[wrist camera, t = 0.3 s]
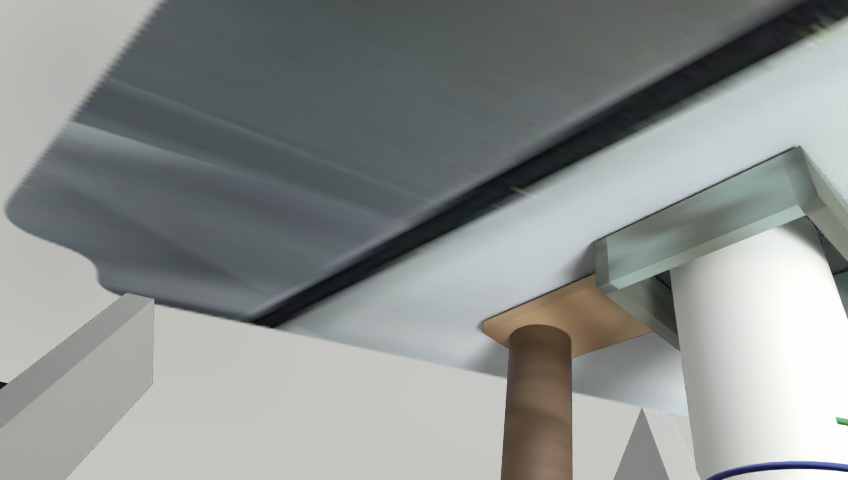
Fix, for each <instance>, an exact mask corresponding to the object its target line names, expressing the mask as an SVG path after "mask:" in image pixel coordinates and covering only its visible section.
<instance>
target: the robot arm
mask: <svg viewBox="0 0 848 480" xmlns="http://www.w3.org/2000/svg"><path fill="white" fill-rule="evenodd" d="M153 330H154V299H152V298H148V297H143V296H139V295H134V294H129V293H126V294H124V295H123V296H122V297H120V298H119V299H118V300H117V301H115V302H114V303H113V304H111V305H110V306H109V307H108V308H106V309H105V310H104V311H102V312H101V313H100V314H98V315H97V316H96V317H94V318H93V319H92V320H90V321H89V322H88V323H87V324H85V325H84V326H83V327H81V328H80V329H79V330H77V331H76V332H75V333H74V334H72V335H71V336H70V337H68V338H67V339H66V340H64V341H63V342H62V343H60V344H59V345H58V346H57V347H55V348H54V349H53V350H51V351H50V352H49V353H47V354H46V355H45V356H43V357H42V358H41V359H40V360H38V361H37V362H36V363H34V364H33V365H32V366H30V367H29V368H28V369H27V370H25V371H24V372H23V373H21V374H20V375H19V376H17V377H16V378H15V379H14V380H12V381H11V382H10V383H4V382H0V480H65V479H66V478H67V477H68V476H69V475H70V474H71V472H72V471H73V470H74V469H75V468H76V467H77V466H78V465H79V464H80V463H81V462H82V461H83V459H84V458H85V457H86V456H87V455H88V454H89V453H90V452H91V451H92V450H93V449H94V448H95V446H96V445H97V444H98V443H99V442H100V441H101V440H102V439H103V438H104V437H105V435H106V434H107V433H108V432H109V431H110V430H111V429H112V428H113V426H115V425H116V424H117V422H118V421H119V420H120V419H121V418H122V417H123V416H124V415H125V414H126V413H127V412H128V410H129V409H130V408H131V407H132V406H133V405H134V404H135V403H136V402H137V401H138V400H139V398H140V397H141V396H142V395H143V394H144V393H145V392H146V391H147V390H148V389H149V388H150V386H151V385H152V384H153V337H154V336H153V335H154V334H153V333H154V331H153ZM614 480H701V479H700V477H699V475H698V472H697V470H696V468H695V466H694V463H693V461H692V459H691V456H690V454H689V452H688V450H687V447H686V445H685V443H684V441H683V438H682V436H681V434H680V432H679V429H678V427H677V425H676V423H675V420H674V418H673V416H672V414H671V413H667V412H662V411H658V410H653V409H649V408H644V407H642V409H641V411H640V414H639V416H638V419H637V421H636V424H635V427H634V429H633V432H632V434H631V437H630V440H629V442H628V444H627V447H626V449H625V452H624V455H623V457H622V460H621V462H620V465H619V467H618V470H617V472H616V475H615V477H614Z"/></svg>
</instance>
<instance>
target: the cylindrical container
mask: <svg viewBox="0 0 848 480" xmlns="http://www.w3.org/2000/svg"><path fill="white" fill-rule="evenodd" d="M669 270H670V278H671V285H672V293H673V300H674V308H675V315H676V323H677V330H678V337H679V345H680V352H681V360H682V367H683V374H684V382H685V389H686V396H687V404H688V411H689V418H690V425H691V432H692V440H693V447H694V455H695V462H696V469H697V472H698V475H699V477H700V479H701V480H848V319H847V316H846V313H845V310H844V307H843V305H842V302H841V299H840V296H839V293H838V290H837V287H836V284H835V282H834V279H833V276H832V273H831V270H830V267H829V264H828V261H827V258H826V256H825V253H824V250H823V247H822V244H821V241H820V238H819V235H818V233H817V230H816V228H815V226H814V225H813V224H812V222H811V221H810V220H808V219H807V218H806V217H804V216H802V217H800V218H797V219H795V220H792V221H790V222H787V223H785V224H782V225H780V226H777V227H775V228H772V229H770V230H767V231H765V232H762V233H760V234H757V235H754V236H752V237H749V238H747V239H744V240H742V241H739V242H737V243H734V244H732V245H729V246H727V247H724V248H722V249H719V250H717V251H714V252H712V253H709V254H707V255H704V256H702V257H699V258H697V259H694V260H692V261H689V262H687V263H684V264H682V265H679V266H677V267H674V268H672V269H669Z"/></svg>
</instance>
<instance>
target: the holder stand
mask: <svg viewBox="0 0 848 480" xmlns="http://www.w3.org/2000/svg"><path fill="white" fill-rule="evenodd" d="M805 215H807V216H808V217H809V218H810V220H811V221H812V222H813V223H814V224H815V225H816V226H817V228H818V229H819V230H820V231H821V232H822V233H823V234H824V235H825V237H826V238H827V239H828V240H829V241H830V242H831V243H832V245H833V246H834V247H835V248H836V249H837V250H838V251H839V252H840V254H841V255H842V256H843V257H844V258H845V259H846V260H847V262H848V204H847V203H846V202H845V200H844V199H843V198H842V197H841V196H840V194H839V193H838V192H837V191H836V189H835V188H834V187H833V186H832V184H831V183H830V182H829V181H828V179H827V178H826V177H825V176H824V175H823V173H822V172H821V171H820V170H819V168H818V167H817V166H816V165H815V163H814V162H813V161H812V160H811V158H810V157H809V156H808V155H807V154H806V152H805V151H804V150H803V149H802V147H801V146H798V147H796V148H794V149H792V150H790V151H788V152H786V153H784V154H781V155H779V156H777V157H775V158H773V159H771V160H769V161H767V162H764V163H762V164H760V165H758V166H756V167H754V168H752V169H750V170H747V171H745V172H743V173H741V174H739V175H737V176H735V177H733V178H730V179H728V180H726V181H724V182H722V183H720V184H718V185H716V186H713V187H711V188H709V189H707V190H705V191H703V192H701V193H699V194H696V195H694V196H692V197H690V198H688V199H686V200H684V201H682V202H680V203H677V204H675V205H673V206H671V207H669V208H667V209H665V210H663V211H660V212H658V213H656V214H654V215H652V216H650V217H648V218H646V219H643V220H641V221H639V222H637V223H635V224H633V225H631V226H629V227H626V228H624V229H622V230H620V231H618V232H616V233H614V234H612V235H609V236H607V237H605V238H603V239H601V240H599V241H597V242H595V243H594V248H595V274H593V275H591V276H588V277H586V278H584V279H581V280H579V281H577V282H574V283H572V284H570V285H567V286H565V287H563V288H560V289H558V290H556V291H554V292H551V293H549V294H547V295H544V296H542V297H540V298H537V299H535V300H533V301H530V302H528V303H526V304H523V305H521V306H519V307H516V308H514V309H512V310H509V311H507V312H505V313H502V314H500V315H498V316H495V317H493V318H491V319H488V320H486V321H484V322H483V328H482V332H483V333H484V334H486V335H488V336H489V337H491V338H492V339H494V340H496V341H497V342H499V343H501V344H502V345H504V346H505V347H507V348H509V363H508V378H507V393H506V408H505V409H506V410H505V423H504V439H503V455H502V469H501V480H572V358H574V357H577V356H580V355H583V354H586V353H589V352H592V351H595V350H598V349H601V348H604V347H607V346H610V345H613V344H616V343H619V342H622V341H625V340H628V339H631V338H634V337H637V336H640V335H643V334H646V333H649V332H652V331H654V332H655V333H656V334H658V335H659V336H660V337H662V338H663V339H664V340H666V341H667V342H668V343H670V344H671V345H672V346H674V347H675V348H676V349H678V350H679V351H680V345H679V337H678V330H677V323H676V315H675V308H674V300H673V293H672V291H671V290H670V289H669V288H668V287H667V286H665V285H664V284H663V283H662V282H661V281H659V280H658V279H657V278H656V277H655V276H654V275H656V274H659V273H662V272H664V271H667V270H669V269H672V268H674V267H677V266H679V265H682V264H684V263H687V262H689V261H692V260H694V259H697V258H699V257H702V256H704V255H707V254H709V253H712V252H714V251H717V250H719V249H722V248H724V247H727V246H729V245H732V244H734V243H737V242H739V241H742V240H744V239H747V238H749V237H752V236H754V235H757V234H760V233H762V232H765V231H767V230H770V229H772V228H775V227H777V226H780V225H782V224H785V223H787V222H790V221H792V220H795V219H797V218H800V217H802V216H805ZM833 279H834V282H835V284H836V287H837V290H838V293H839V296H840V299H841V302H842V305H843V307H844V310H845V313H846V316H847V319H848V271H846V272H843V273H840V274H837V275H834V276H833Z"/></svg>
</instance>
